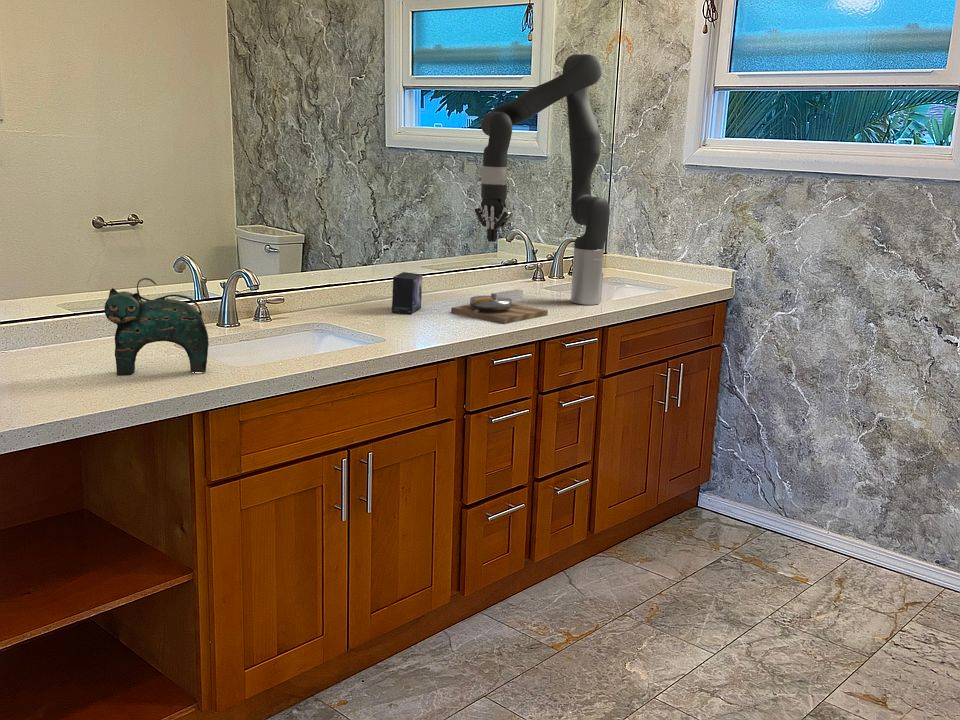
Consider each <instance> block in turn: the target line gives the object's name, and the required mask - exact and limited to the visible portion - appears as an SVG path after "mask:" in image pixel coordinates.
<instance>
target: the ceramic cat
mask: <svg viewBox="0 0 960 720" xmlns="http://www.w3.org/2000/svg"><path fill="white" fill-rule="evenodd" d="M142 281H149V282H151V283H153V284H154V285H157V283H156V282H155V280H153V279H152V278H149V277H144V278H143V277H142V278H141V279H138V281H137V285H136V292H135V293H133V292H129V291H117V290H116V289H115V288H114V287H112V288H111V289H110V290H109V293H108V298H107V300H106V301H105V303H104V315H105V316H106V318H107V320H108V321H110V322H111V323H113V324H115V325H117V326H116V330H115V333H114V358H115V365H116V368H115V369H116V376H132V375H134V373H135V370H136V360H137V357H138V356H137V355H138V353H139V351H141V349H143V347H144V346H146V345H148V344H151V343H156V342H168V343H173V344H176V345H178V346H180V347H182V348H183V349H184V350H185V352H186V354H187V357H188V360H189V367H190V368H189V369H190V373H191V372H194V373H195V372H205V373H206V371H207V365H208V363H207V362H208V356H209V355H208V354H209V353H208V352H209V345H210V344H209V334H208V330H207V327H206V325H205V322H204V319H203V317H202V315H203V313H202V309H201V307H200V305H199V304H198V303H197V302H196V300H194V298H191V297H189V296H187V295H183V294H175V293H174V294H166V295H164V296H160V297H158V298H157V297H156V298H154V299H148V298H146V297H143V296H141V294H140V291H139V285H140V283H141V282H142ZM169 297H170V298H169ZM171 297H175V298H176V297H177V298H182V299H187V300H189V301H191V302H192V303H193V304H194V305H196V307H197V308H198V309H196V308H195V306H193V305H191V304H189V302H185V301H184V300H183V301H182V300H179V299H174V298H171ZM198 310H199V311H198Z"/></svg>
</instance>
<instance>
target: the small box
mask: <svg viewBox="0 0 960 720" xmlns="http://www.w3.org/2000/svg"><path fill="white" fill-rule="evenodd" d="M422 293H423V273H414V272H405V271H403V272H401V273H399V274H396V275H394V276H392V297H391V298H392V299H391V313H392V314H394V313H395V314H405V315H413V314H414V313H416V312H417V311H420V310H421V309H422V300H423V299H422V296H423V295H422Z"/></svg>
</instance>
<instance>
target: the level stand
mask: <svg viewBox="0 0 960 720" xmlns="http://www.w3.org/2000/svg"><path fill="white" fill-rule="evenodd" d="M450 313H451V314H456V315H461V316H465V317H471V318H475V319H480V320H485V321H490V322H493V323H494V322H495V323H500V324H504V325H506V324H511V323H515V322H520V321H525V320H530V319H535V318H540V317H546V316H548V315H549V310H548V309H545V308H544V309H543V308H538V307H534V306H533V307H532V306H528V305H523V304H517V303H514V302H512V307H511V308H510V309H506V310H484V309H478V308H473V307H471V306H470V304H465V305H463V304H462V305H459V306H458V305H457V306H453V307H451V309H450Z"/></svg>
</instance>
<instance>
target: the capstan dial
mask: <svg viewBox="0 0 960 720" xmlns="http://www.w3.org/2000/svg"><path fill="white" fill-rule="evenodd" d="M523 298H524V290H523V289H513V290H511V289H510V290H504V291H497V292H491V293H490V295H477V296H470V298H469V299H470V300H469V301H470V302H469V303H470V306H471V307H473V308H478V309H484V310H506V309H510V308H511V307H512V303H515V302H520V301H521V302H522V301H523Z"/></svg>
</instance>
